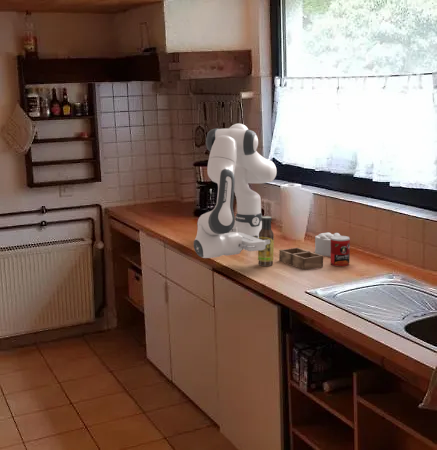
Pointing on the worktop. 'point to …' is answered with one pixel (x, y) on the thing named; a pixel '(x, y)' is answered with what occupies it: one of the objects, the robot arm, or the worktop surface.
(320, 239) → the lumpy-topped squat cylinder
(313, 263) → the box
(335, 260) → the canned food
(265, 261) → the sauce bottle
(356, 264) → the worktop surface
